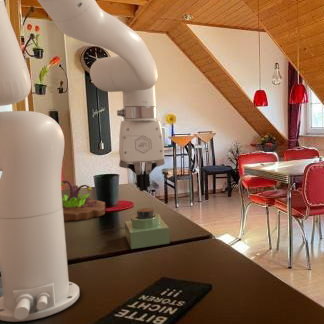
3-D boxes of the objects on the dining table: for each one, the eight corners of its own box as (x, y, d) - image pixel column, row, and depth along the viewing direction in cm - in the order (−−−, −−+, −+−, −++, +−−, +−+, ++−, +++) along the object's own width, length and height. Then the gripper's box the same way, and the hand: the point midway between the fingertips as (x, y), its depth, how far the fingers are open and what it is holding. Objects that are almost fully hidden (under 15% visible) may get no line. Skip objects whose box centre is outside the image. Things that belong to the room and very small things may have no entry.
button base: (169, 243, 94) (168, 219, 93) (131, 249, 90) (129, 224, 89) (160, 231, 104) (159, 209, 103) (125, 236, 100) (124, 213, 99)
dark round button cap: (155, 218, 95) (155, 210, 95) (138, 220, 93) (138, 212, 93) (152, 215, 99) (152, 207, 98) (136, 217, 97) (135, 209, 97)
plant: (44, 210, 131) (41, 177, 130) (105, 204, 138) (103, 173, 136) (33, 225, 113) (29, 187, 111) (104, 218, 119) (102, 182, 118)
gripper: (108, 114, 87) (112, 195, 88) (174, 114, 93) (177, 189, 95) (105, 115, 93) (109, 190, 95) (167, 115, 100) (170, 185, 101)
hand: (143, 190), depth 95 cm, fingers closed
